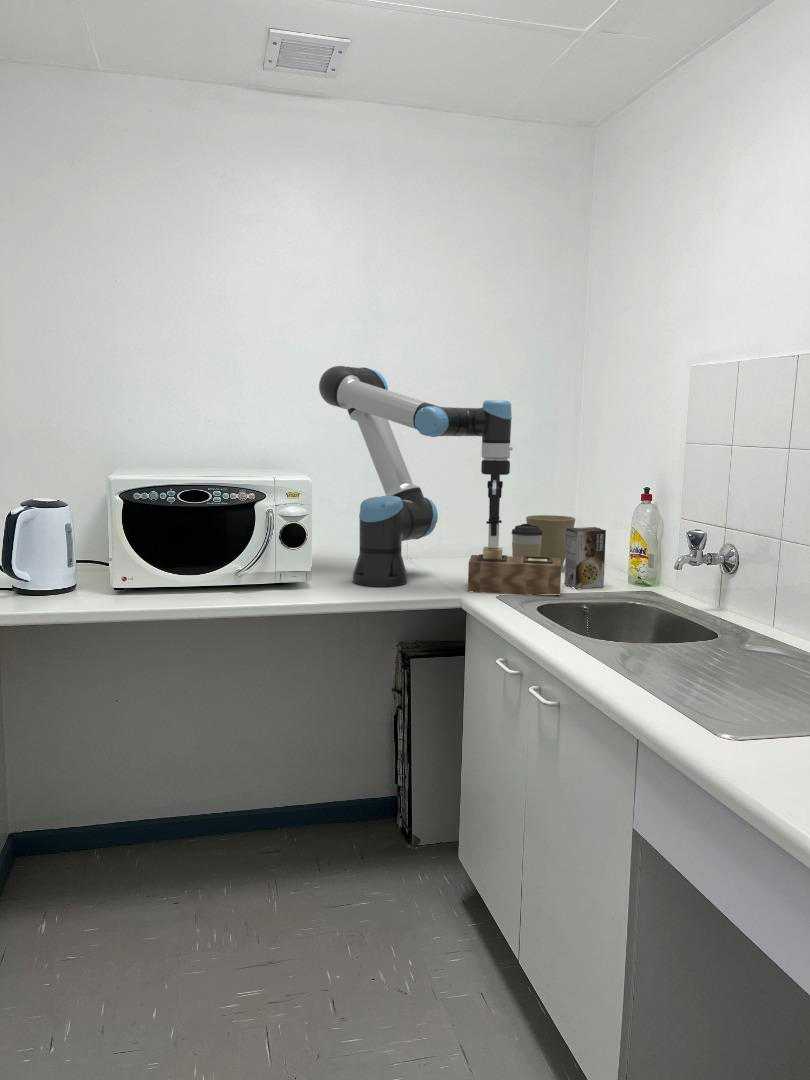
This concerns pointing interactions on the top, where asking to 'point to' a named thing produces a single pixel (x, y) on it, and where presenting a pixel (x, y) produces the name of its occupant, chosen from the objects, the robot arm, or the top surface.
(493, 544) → the robot arm
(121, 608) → the top surface
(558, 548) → the plant pot
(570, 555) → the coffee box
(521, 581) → the walnut block
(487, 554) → the dowel
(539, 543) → the coffee cup
